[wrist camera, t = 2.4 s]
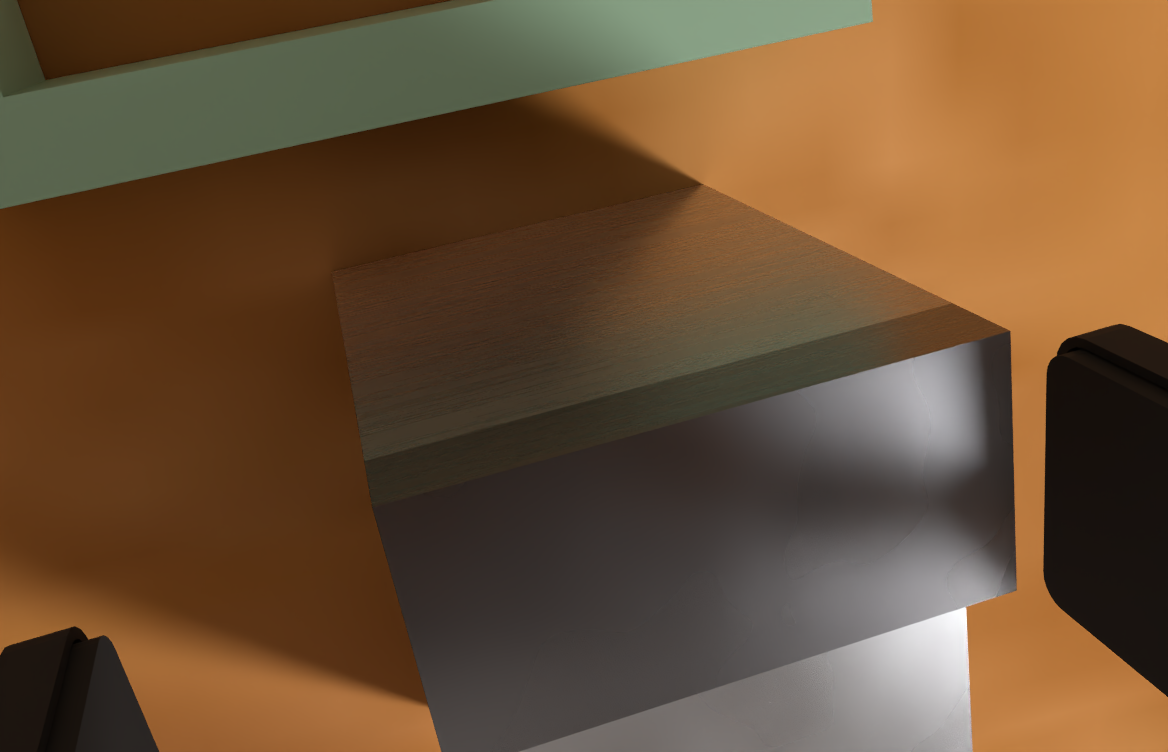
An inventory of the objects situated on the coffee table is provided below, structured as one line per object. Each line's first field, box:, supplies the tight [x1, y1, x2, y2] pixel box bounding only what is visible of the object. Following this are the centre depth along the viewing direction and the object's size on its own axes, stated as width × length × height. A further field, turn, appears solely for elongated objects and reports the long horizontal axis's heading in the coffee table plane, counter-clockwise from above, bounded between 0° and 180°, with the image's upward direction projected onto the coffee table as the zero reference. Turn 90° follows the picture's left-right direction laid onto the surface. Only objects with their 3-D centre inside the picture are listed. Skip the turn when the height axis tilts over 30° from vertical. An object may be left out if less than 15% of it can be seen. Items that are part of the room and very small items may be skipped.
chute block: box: [332, 184, 1017, 752], centre depth 12 cm, size 7×5×7 cm
